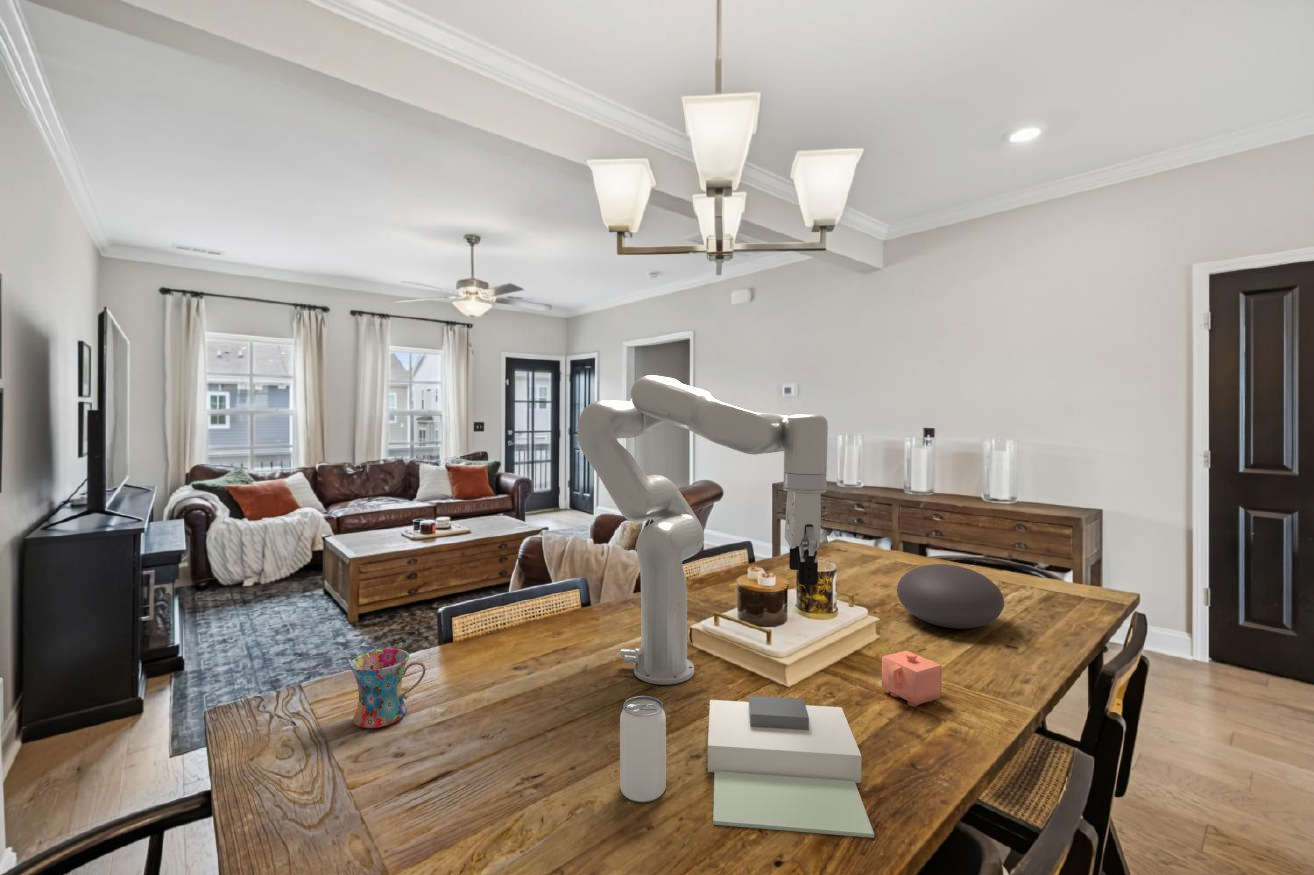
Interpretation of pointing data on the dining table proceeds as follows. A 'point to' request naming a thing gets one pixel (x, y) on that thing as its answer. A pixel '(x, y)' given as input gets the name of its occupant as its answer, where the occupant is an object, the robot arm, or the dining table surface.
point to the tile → (778, 713)
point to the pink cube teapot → (911, 677)
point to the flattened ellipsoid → (950, 596)
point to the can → (642, 749)
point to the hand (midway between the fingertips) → (802, 576)
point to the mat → (789, 804)
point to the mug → (381, 686)
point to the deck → (782, 745)
